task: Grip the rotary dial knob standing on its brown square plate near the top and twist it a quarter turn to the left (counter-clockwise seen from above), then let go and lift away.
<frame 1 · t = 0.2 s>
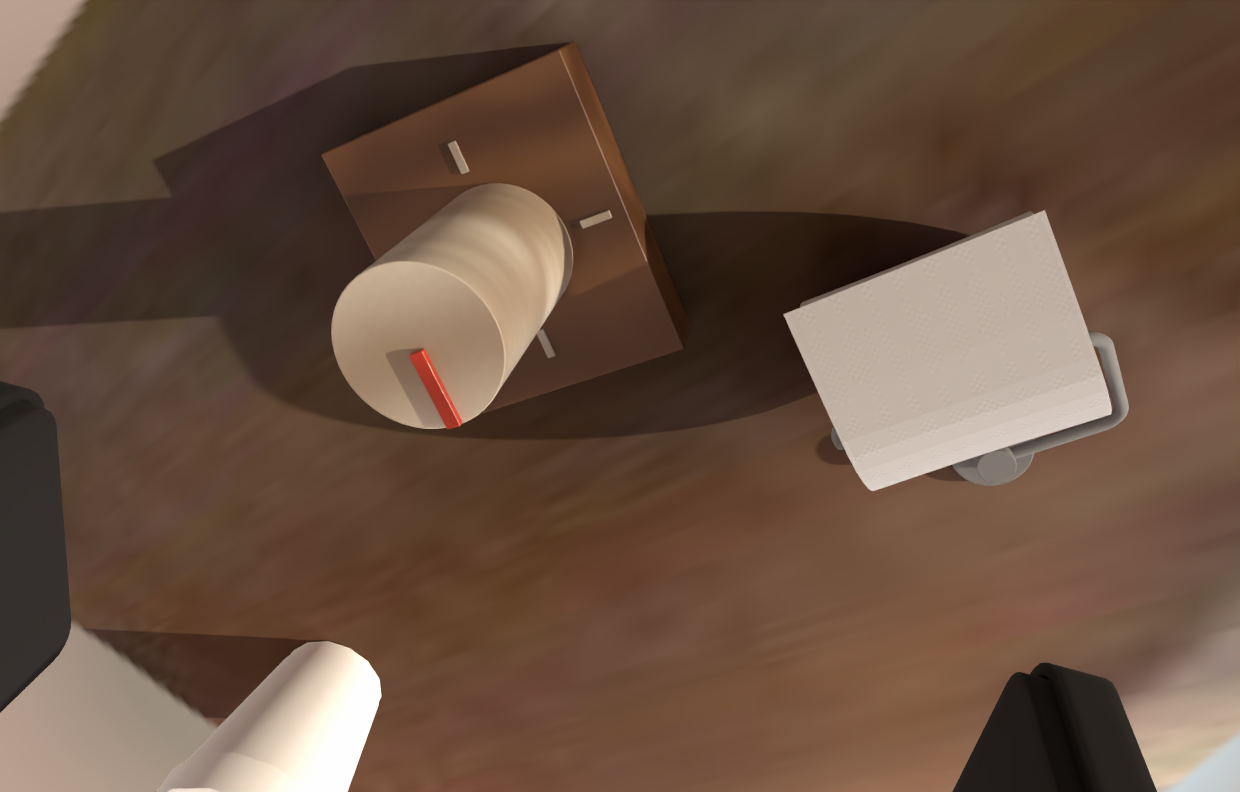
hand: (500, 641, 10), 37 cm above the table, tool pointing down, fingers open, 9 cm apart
foam cup: (335, 678, 62), on the table
brown square plate: (521, 234, 47), on the table
rotary dial knob: (464, 296, 39), point 9 cm above the table, hinge at 0.0°
toilet paper holder: (949, 346, 46), on the table
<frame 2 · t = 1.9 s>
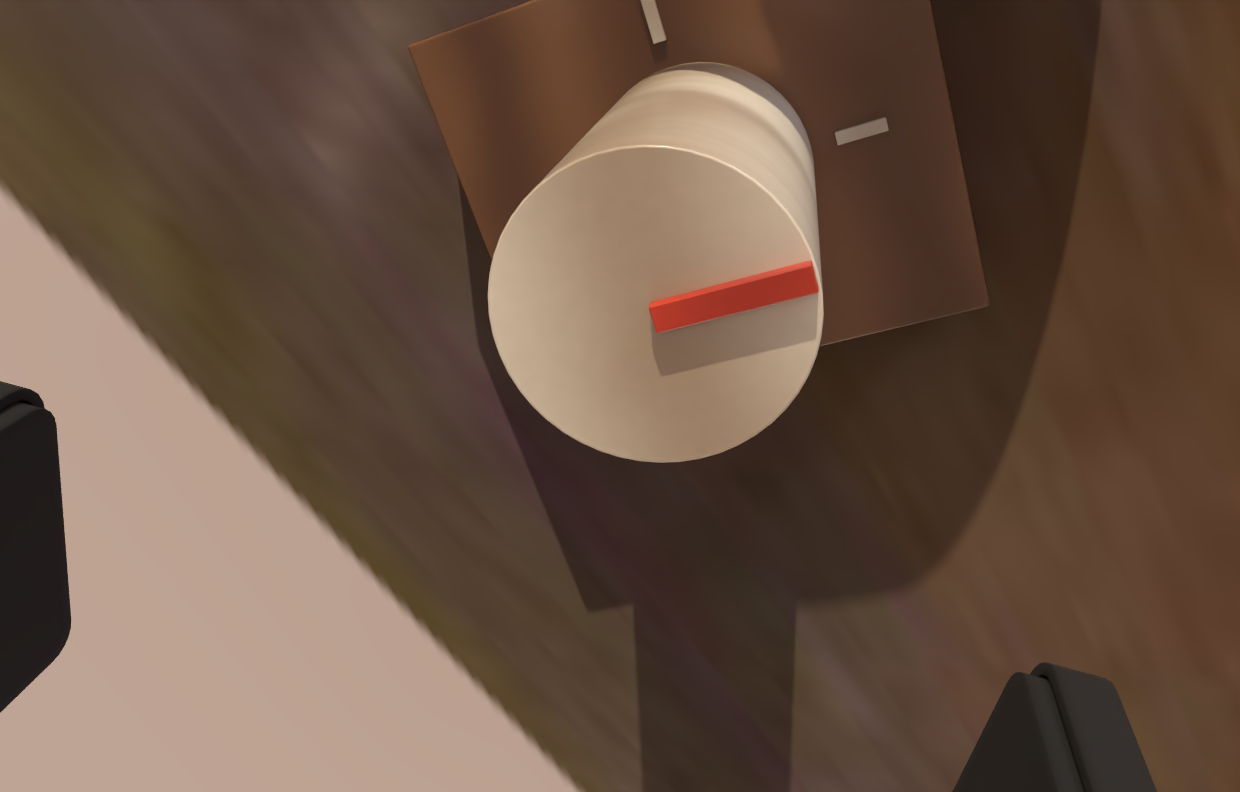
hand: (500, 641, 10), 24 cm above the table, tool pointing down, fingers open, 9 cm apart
brown square plate: (709, 155, 31), on the table
rotary dial knob: (680, 234, 23), point 9 cm above the table, hinge at 0.0°
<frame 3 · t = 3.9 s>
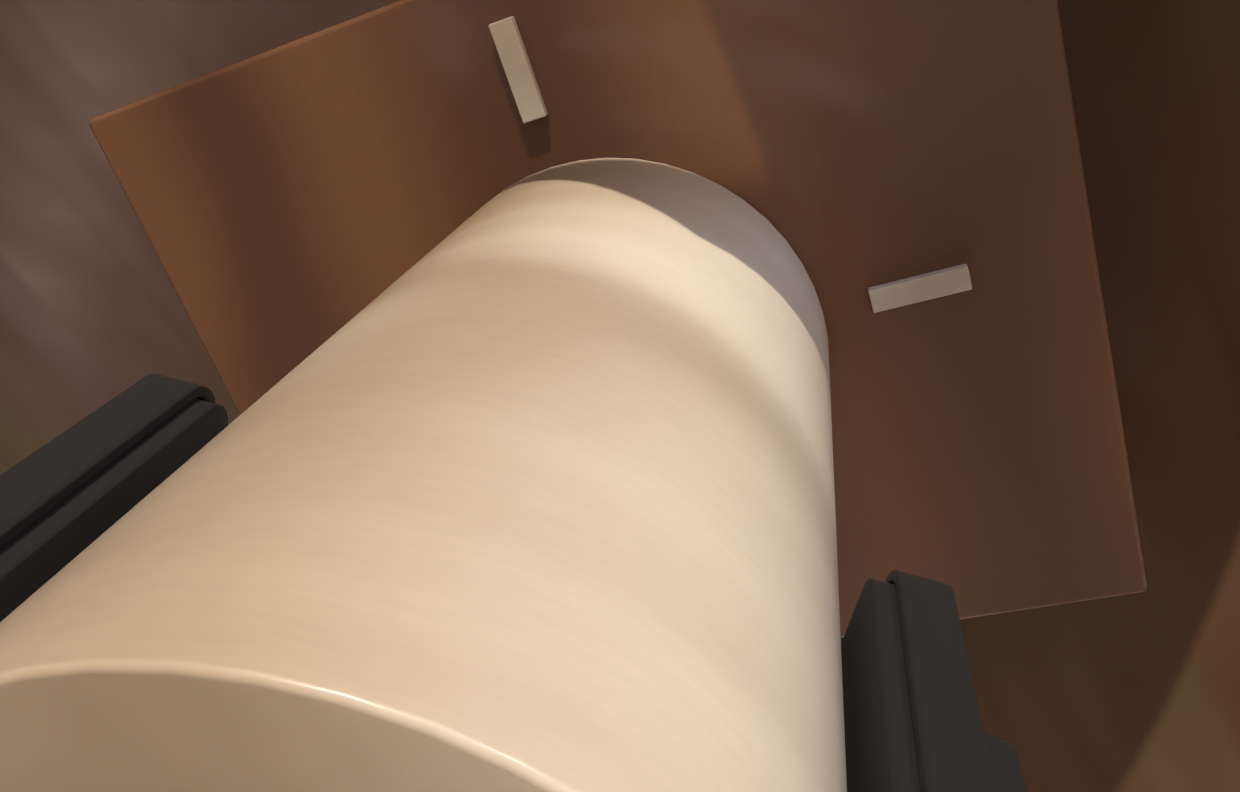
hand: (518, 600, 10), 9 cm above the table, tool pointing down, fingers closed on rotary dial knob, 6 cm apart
brown square plate: (650, 296, 18), on the table
rotary dial knob: (532, 568, 11), point 9 cm above the table, hinge at 0.0°, touching gripper
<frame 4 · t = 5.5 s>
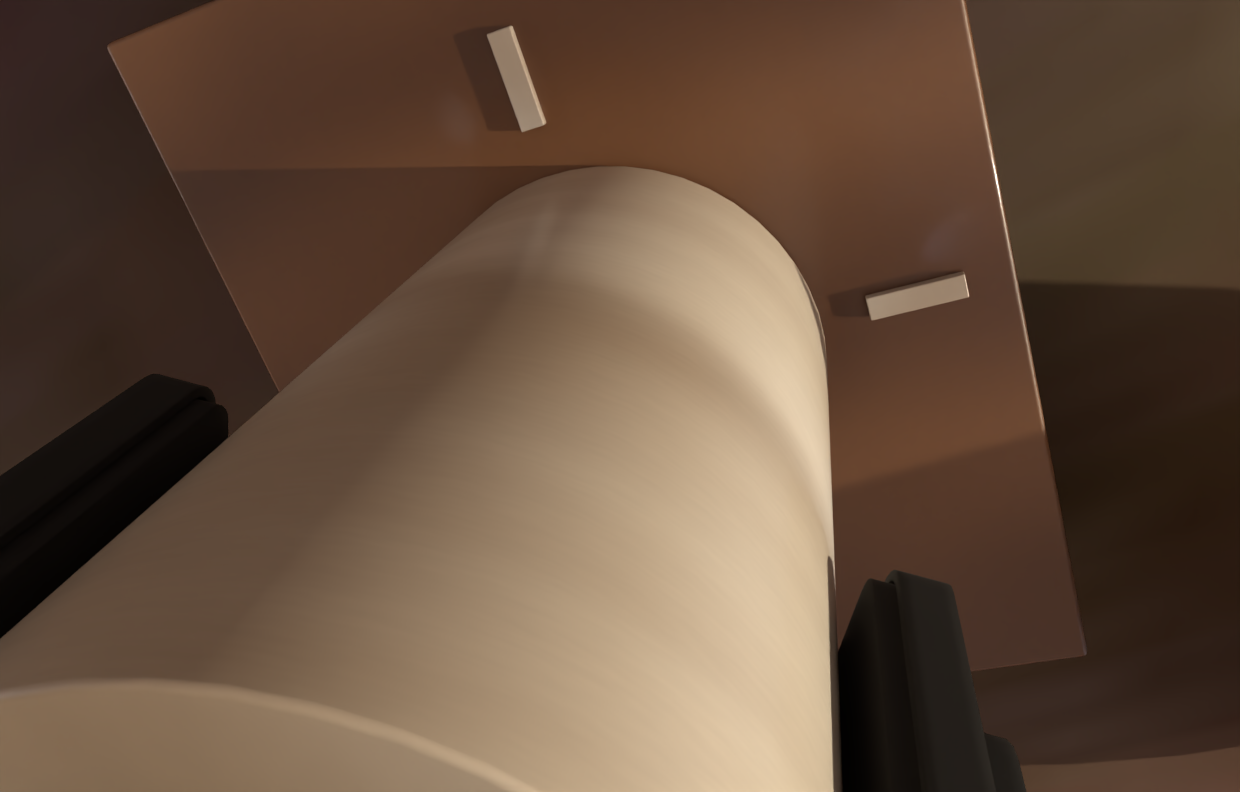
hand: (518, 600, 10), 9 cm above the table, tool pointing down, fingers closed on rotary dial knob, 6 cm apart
brown square plate: (648, 302, 18), on the table
rotary dial knob: (530, 577, 11), point 9 cm above the table, hinge at 92.3°, touching gripper
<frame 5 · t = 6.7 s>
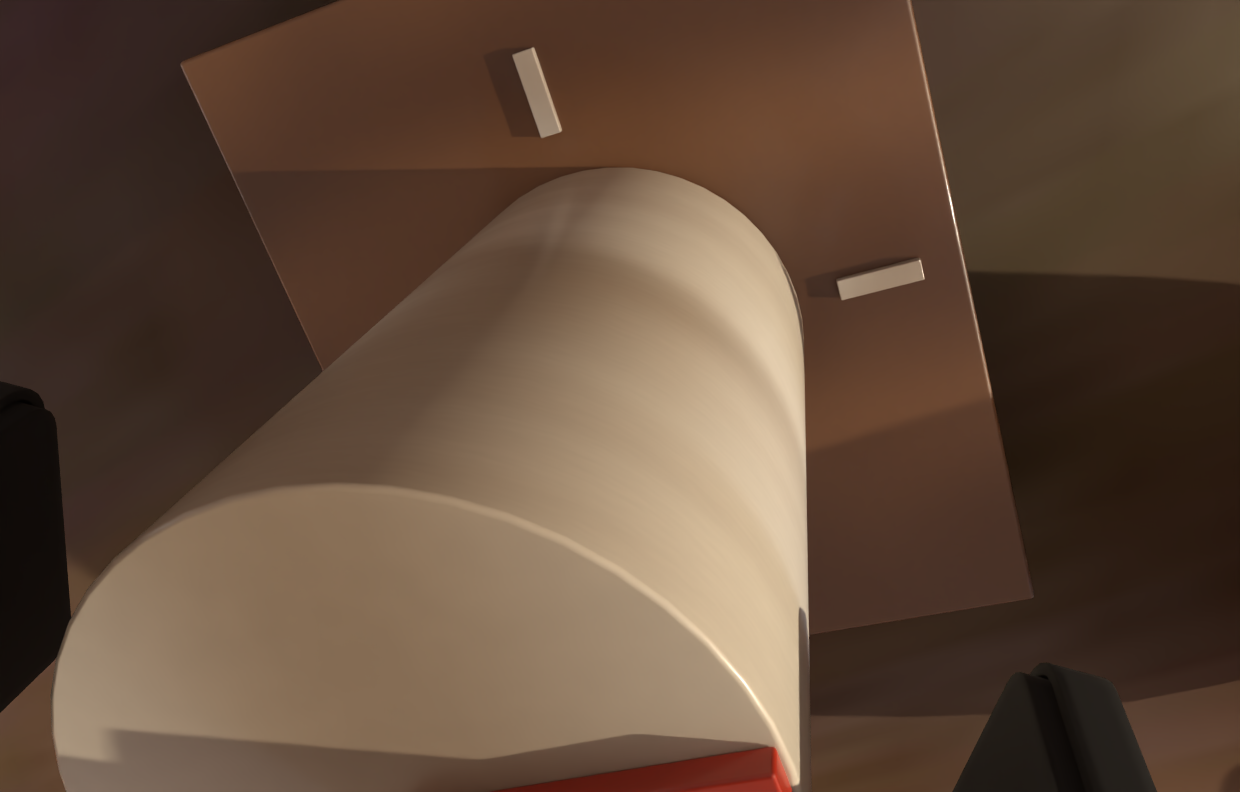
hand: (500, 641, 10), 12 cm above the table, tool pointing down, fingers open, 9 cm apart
brown square plate: (647, 291, 21), on the table
rotary dial knob: (556, 500, 13), point 9 cm above the table, hinge at 91.8°
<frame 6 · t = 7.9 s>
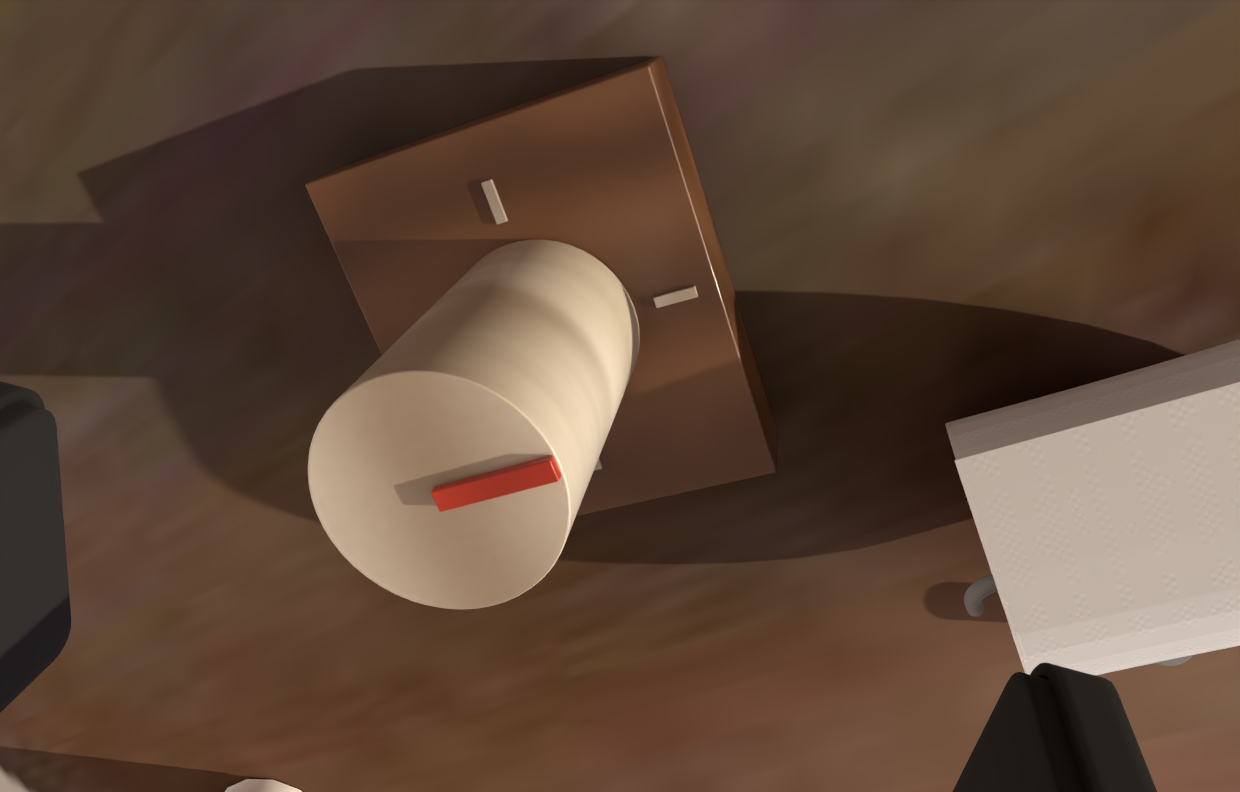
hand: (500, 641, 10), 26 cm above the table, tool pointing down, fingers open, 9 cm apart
brown square plate: (564, 303, 36), on the table
rotary dial knob: (498, 402, 28), point 9 cm above the table, hinge at 91.8°
toilet paper holder: (1116, 485, 35), on the table
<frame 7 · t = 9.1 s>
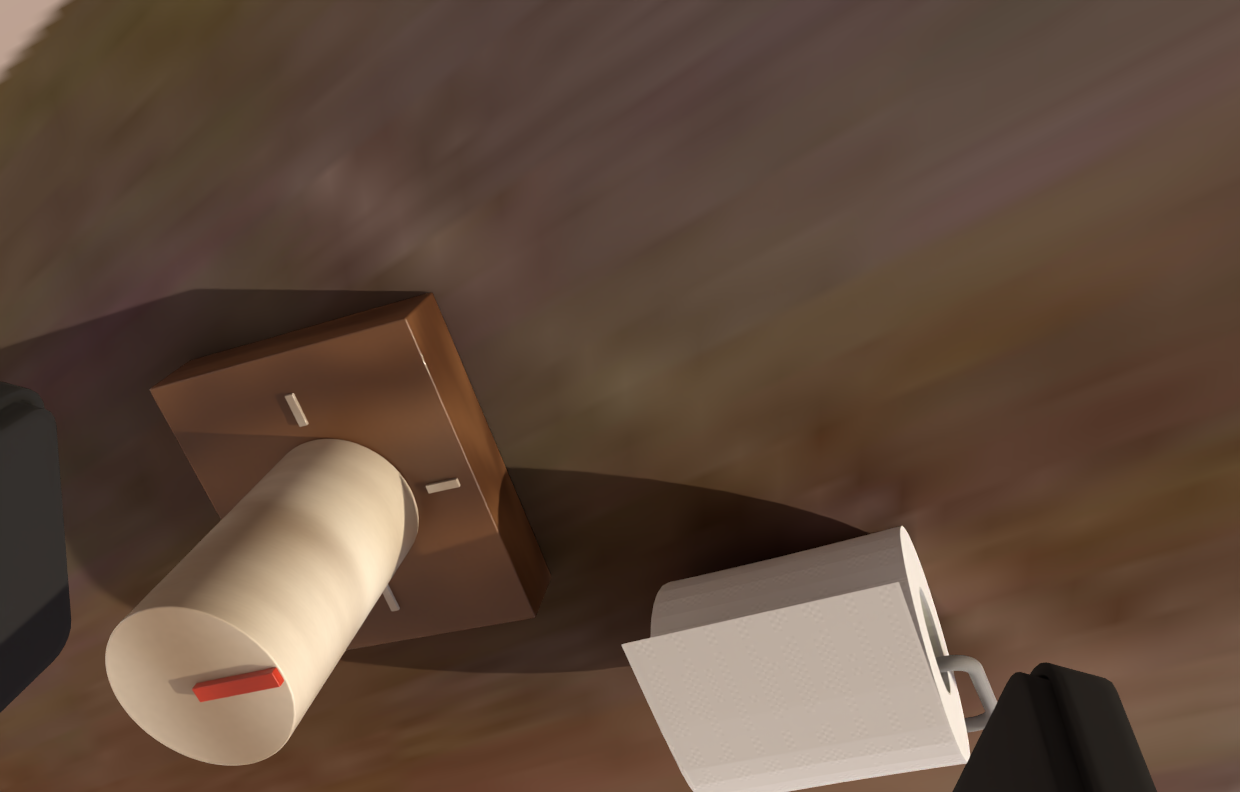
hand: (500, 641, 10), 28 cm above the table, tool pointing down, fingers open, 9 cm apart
brown square plate: (374, 470, 44), on the table
rotary dial knob: (280, 588, 36), point 9 cm above the table, hinge at 91.8°
toilet paper holder: (821, 624, 43), on the table
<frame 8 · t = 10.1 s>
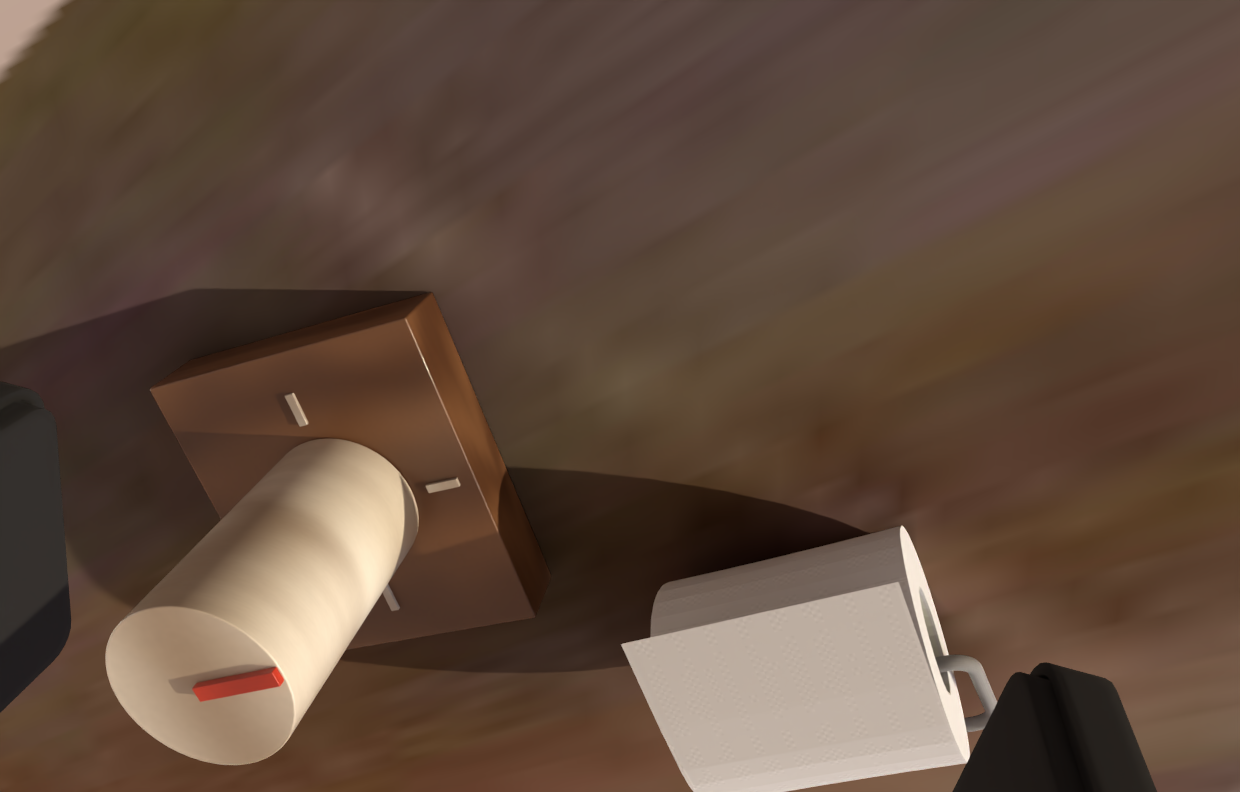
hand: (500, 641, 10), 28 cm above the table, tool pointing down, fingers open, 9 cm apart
brown square plate: (374, 470, 44), on the table
rotary dial knob: (280, 588, 36), point 9 cm above the table, hinge at 91.8°
toilet paper holder: (821, 624, 43), on the table
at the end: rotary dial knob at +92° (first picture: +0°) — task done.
